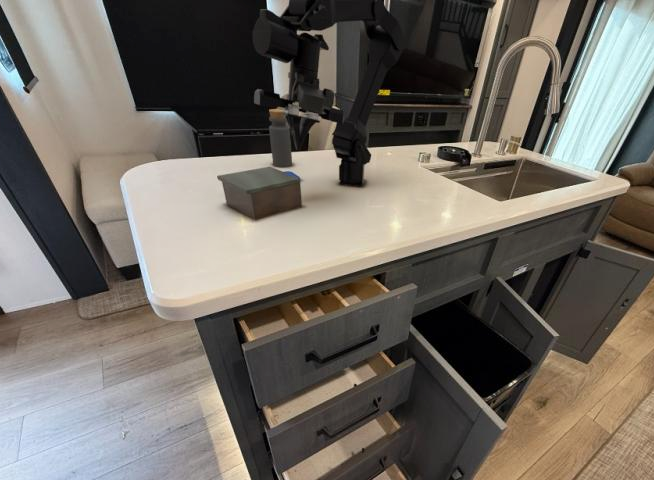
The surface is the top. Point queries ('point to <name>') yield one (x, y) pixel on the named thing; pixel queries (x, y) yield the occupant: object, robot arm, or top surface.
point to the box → (264, 200)
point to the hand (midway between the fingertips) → (298, 149)
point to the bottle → (280, 139)
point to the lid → (258, 179)
